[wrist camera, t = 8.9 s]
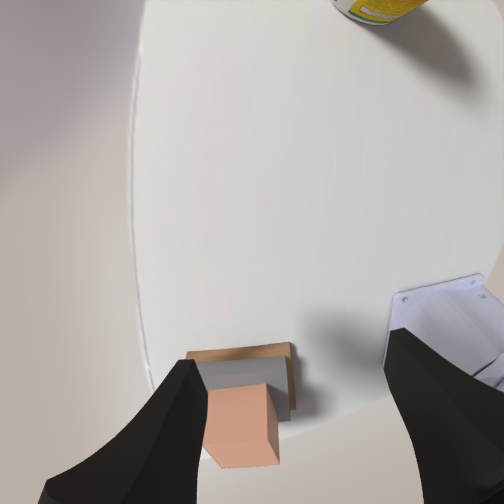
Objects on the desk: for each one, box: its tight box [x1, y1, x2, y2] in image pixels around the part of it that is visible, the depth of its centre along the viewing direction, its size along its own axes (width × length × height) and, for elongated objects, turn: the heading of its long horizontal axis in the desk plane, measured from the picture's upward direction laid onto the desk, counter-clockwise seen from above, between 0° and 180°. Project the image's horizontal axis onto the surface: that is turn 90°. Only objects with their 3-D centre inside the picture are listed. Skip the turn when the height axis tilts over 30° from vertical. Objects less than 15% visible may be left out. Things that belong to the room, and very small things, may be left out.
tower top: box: [196, 356, 290, 422], centre depth 22 cm, size 7×7×2 cm
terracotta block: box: [202, 383, 280, 468], centre depth 19 cm, size 4×4×5 cm
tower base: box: [186, 342, 296, 410], centre depth 23 cm, size 8×8×2 cm
